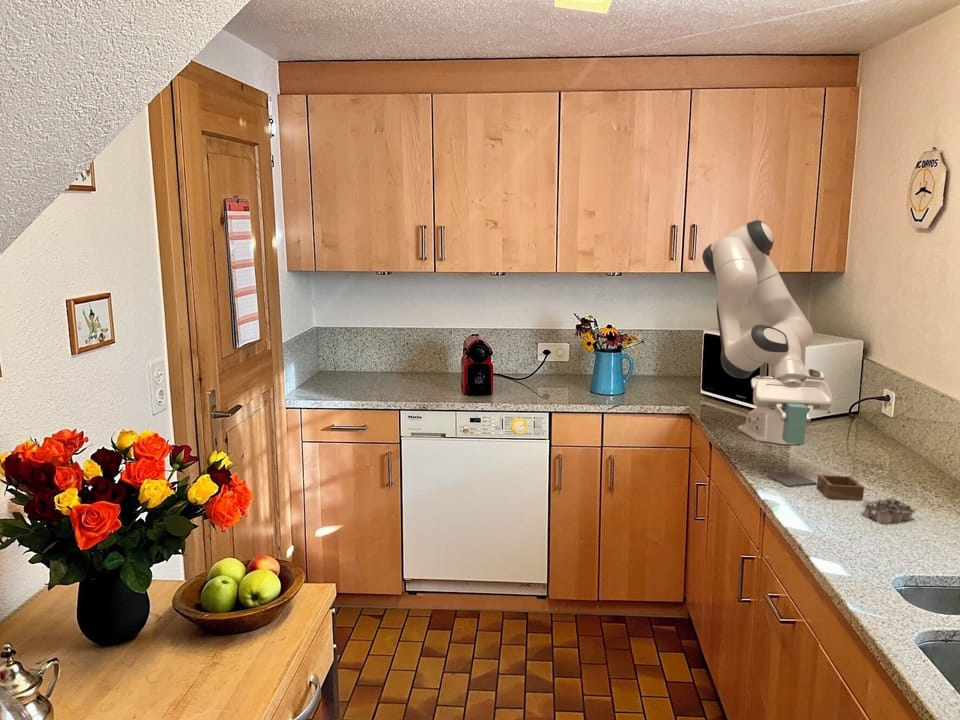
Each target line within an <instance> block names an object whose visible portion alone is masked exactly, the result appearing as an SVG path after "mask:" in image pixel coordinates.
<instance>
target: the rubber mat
mask: <svg viewBox="0 0 960 720" xmlns="http://www.w3.org/2000/svg"><path fill="white" fill-rule="evenodd" d="M765 475H766V476H767V477H766V476H765V477H766V478H768V477H769V478H768V479H770V478H771V479H770V480H773V481H775V480H776V481H775V482H777V481H778V482H777V483H779V482H780V483H779V484H781V483H782V484H781V485H783V486H784V487H787V486H788V487H787V488H796V487H797V488H798V487H805V486H807V485H808V486H817V482H816V481H815V480H812V479H810V478H808V477H806V476H804V475H802V474H800V473H797V472H795V471H791V472H790V471H788V472H787V471H786V472H777V473H767V474H765ZM795 486H796V487H795Z"/></svg>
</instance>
